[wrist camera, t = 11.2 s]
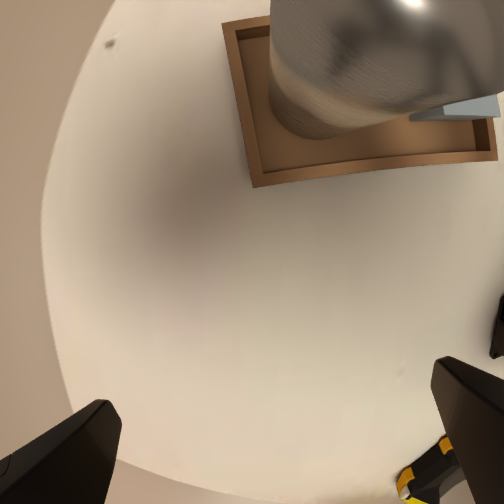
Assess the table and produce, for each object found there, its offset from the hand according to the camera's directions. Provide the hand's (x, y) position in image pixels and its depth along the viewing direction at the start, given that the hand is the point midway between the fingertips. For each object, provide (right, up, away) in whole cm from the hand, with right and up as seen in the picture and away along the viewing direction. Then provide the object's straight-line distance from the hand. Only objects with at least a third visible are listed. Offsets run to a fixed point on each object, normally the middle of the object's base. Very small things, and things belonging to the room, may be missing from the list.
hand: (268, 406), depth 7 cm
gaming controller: (+23, -21, +19) cm, 36 cm away
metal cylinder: (+3, +12, +8) cm, 15 cm away
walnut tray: (+6, +13, +9) cm, 18 cm away
